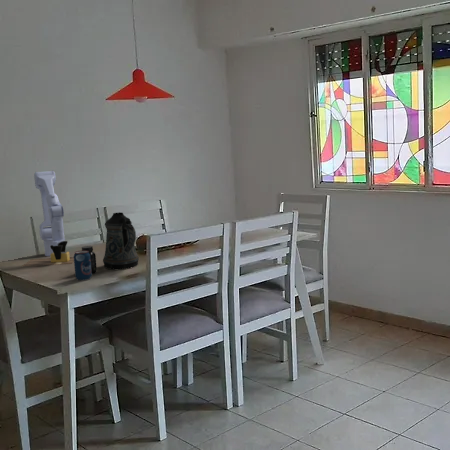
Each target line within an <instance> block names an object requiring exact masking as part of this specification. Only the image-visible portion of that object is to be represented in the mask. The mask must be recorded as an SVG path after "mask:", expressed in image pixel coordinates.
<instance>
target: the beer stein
mask: <svg viewBox="0 0 450 450" xmlns="http://www.w3.org/2000/svg"><path fill="white" fill-rule="evenodd" d="M132 223H133V222H132V221H131V219H130V218H129V217H128V216H126V215H125V214H124V213H123V212H114V213H113V214H112V215H111V217H110V218H108V219H107V220H106V221H105V222H104V228H105V229H106V236H105V237H106V238H105V251H104V255H103V259H102V262H103V266H104V268H105V269H106V270H111V271H112V270H115V269H118V270H126V268H127V269H132V268H135V267H137V266H138V265H139V261H140V260H139V257H140V256H139V255H138V253H137V251H136V247H135V242H136V238H137V235H136V234H137V233H136V229H135V227H134V226H133V224H132ZM131 267H132V268H131ZM115 271H116V270H115Z"/></svg>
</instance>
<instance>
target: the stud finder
mask: <svg viewBox="0 0 450 450" xmlns="http://www.w3.org/2000/svg"><path fill="white" fill-rule="evenodd" d="M70 256H71V255H70V251H65V252H61V259H60V260H56V258H55V255H54V252H53V253H52V254H50V256H49V257H50V258H51V262H68V261H69V260H70Z"/></svg>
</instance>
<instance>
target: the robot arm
mask: <svg viewBox="0 0 450 450" xmlns="http://www.w3.org/2000/svg"><path fill="white" fill-rule="evenodd" d="M33 175H34V176H33V179H34V180H33V181H34V186H35V188H36V190H37V189H38V190H39V192H40V199H41V207H42V215H43V220H44V221H43V222H41V223H40V224H39V237H40V239H41V240H42V241H43V247H44V256H46V257H51V256H50V254H52V253H53V252H54V255H55V258H56V260H60V259H61V252H66V248H67V244H68V240H66V238H65V237H66V236H65V229H64V220H63V219H64V216H65V215H64V213H65V212H64V211H65V210H64V206H63V205H62V203H60V200H59V197H58V194H56V193H55V189H54V187H55V184H56V182H57V177H56V172H55V171H54V170H48V171H35V172H34V174H33Z"/></svg>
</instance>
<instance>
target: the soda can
mask: <svg viewBox="0 0 450 450" xmlns="http://www.w3.org/2000/svg"><path fill="white" fill-rule="evenodd" d="M73 257H74V262H73V265H74V275H75V276H74V277H75V278H76V280H77V281H88V280H90V279H91V278H92V275H93V274H92V271H91V260H90V254H89V252H88V251H87V250H82V249H81V250H77V251H75V252H74V255H73Z"/></svg>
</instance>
